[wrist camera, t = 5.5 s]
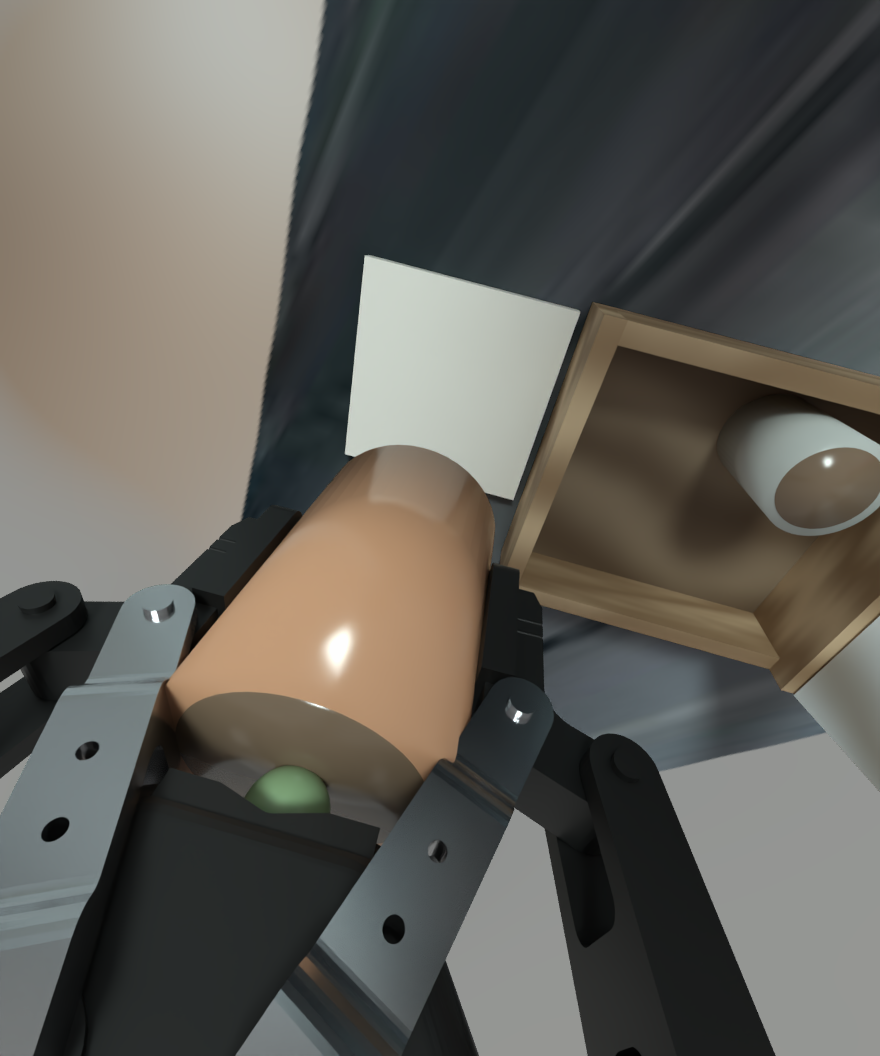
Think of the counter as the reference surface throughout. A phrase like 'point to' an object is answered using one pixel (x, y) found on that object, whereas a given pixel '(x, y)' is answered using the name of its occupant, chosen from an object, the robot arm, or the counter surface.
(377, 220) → the counter surface
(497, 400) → the ceramic trivet
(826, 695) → the cold frame
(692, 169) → the counter surface
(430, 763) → the terracotta pot
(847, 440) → the grey pot
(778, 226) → the counter surface
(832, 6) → the counter surface
